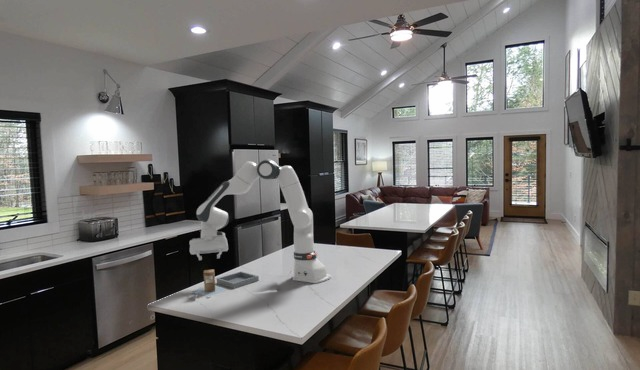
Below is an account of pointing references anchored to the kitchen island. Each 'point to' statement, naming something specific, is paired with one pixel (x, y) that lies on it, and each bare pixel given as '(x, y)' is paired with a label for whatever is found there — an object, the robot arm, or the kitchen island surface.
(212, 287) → the walnut block
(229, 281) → the parts bin
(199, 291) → the light blue flat slab
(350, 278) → the kitchen island surface
